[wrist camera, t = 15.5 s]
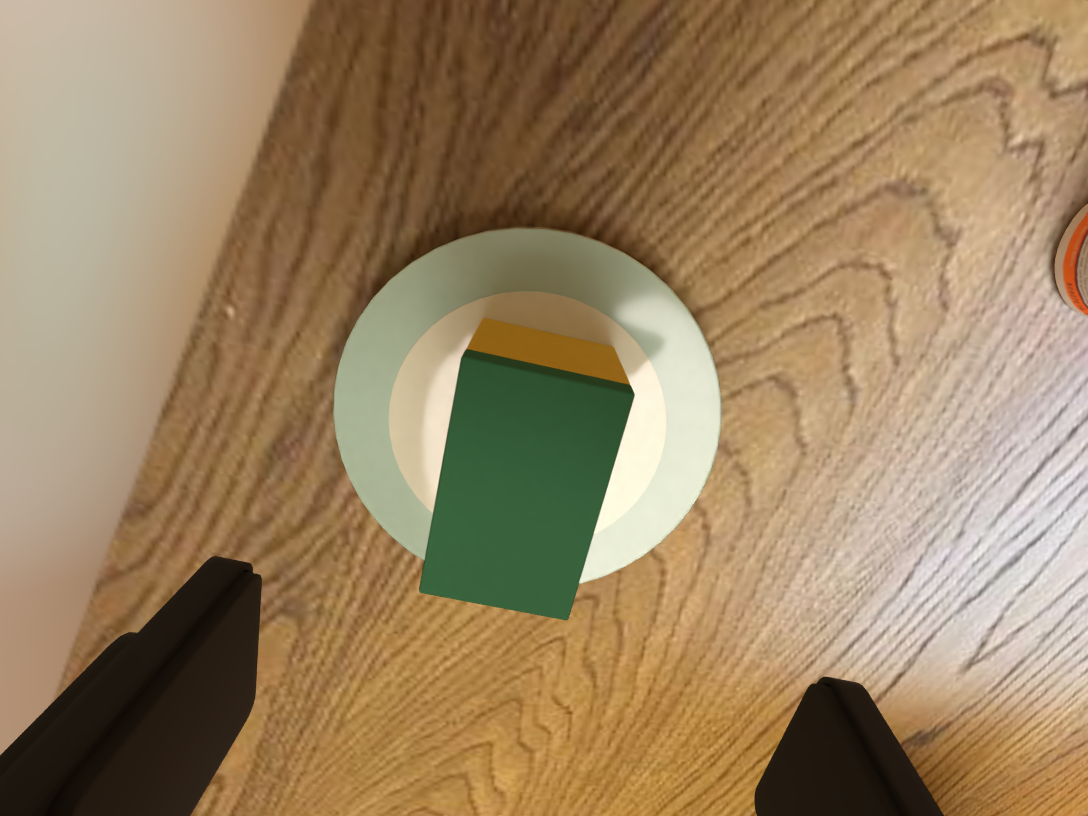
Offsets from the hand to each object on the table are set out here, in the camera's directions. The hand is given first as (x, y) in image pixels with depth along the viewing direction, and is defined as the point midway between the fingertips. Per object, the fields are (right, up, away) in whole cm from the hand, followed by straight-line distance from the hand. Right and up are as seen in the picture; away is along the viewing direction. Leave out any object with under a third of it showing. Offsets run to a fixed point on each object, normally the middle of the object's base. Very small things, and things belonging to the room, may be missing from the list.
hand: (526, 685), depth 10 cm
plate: (0, +4, +12) cm, 13 cm away
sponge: (0, +4, +11) cm, 12 cm away
